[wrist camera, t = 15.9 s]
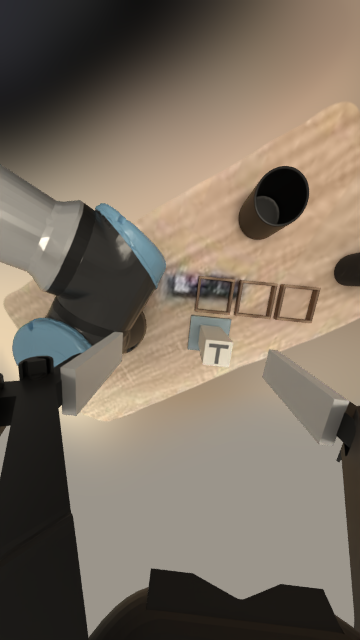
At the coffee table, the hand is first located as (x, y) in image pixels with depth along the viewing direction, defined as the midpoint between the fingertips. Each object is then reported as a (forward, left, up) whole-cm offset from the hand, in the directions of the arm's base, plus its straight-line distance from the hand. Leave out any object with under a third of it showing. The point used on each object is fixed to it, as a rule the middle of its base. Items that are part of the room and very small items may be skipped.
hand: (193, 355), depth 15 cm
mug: (+15, +23, -29) cm, 40 cm away
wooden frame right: (+26, +4, -28) cm, 39 cm away
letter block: (+6, -6, -27) cm, 29 cm away
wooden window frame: (+16, +4, -28) cm, 33 cm away
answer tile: (+6, -6, -28) cm, 30 cm away
